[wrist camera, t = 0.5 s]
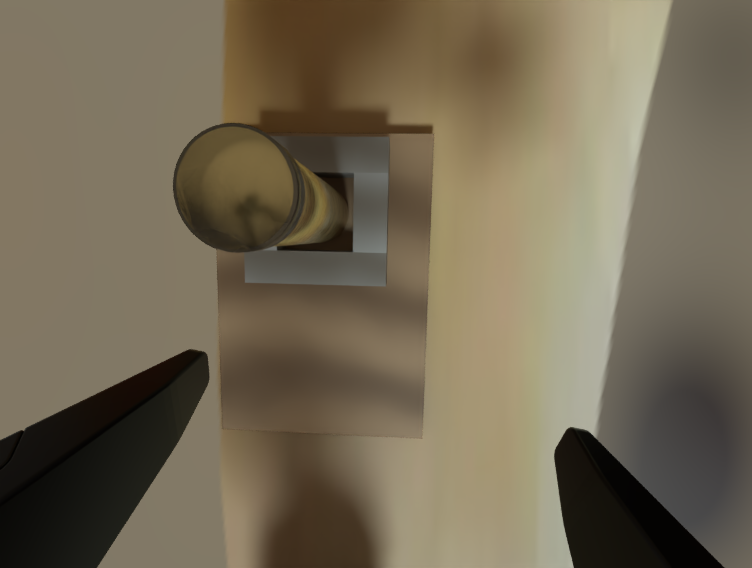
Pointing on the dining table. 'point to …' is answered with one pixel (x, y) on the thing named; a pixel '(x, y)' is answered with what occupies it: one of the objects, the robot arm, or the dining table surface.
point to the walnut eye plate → (336, 301)
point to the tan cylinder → (252, 193)
